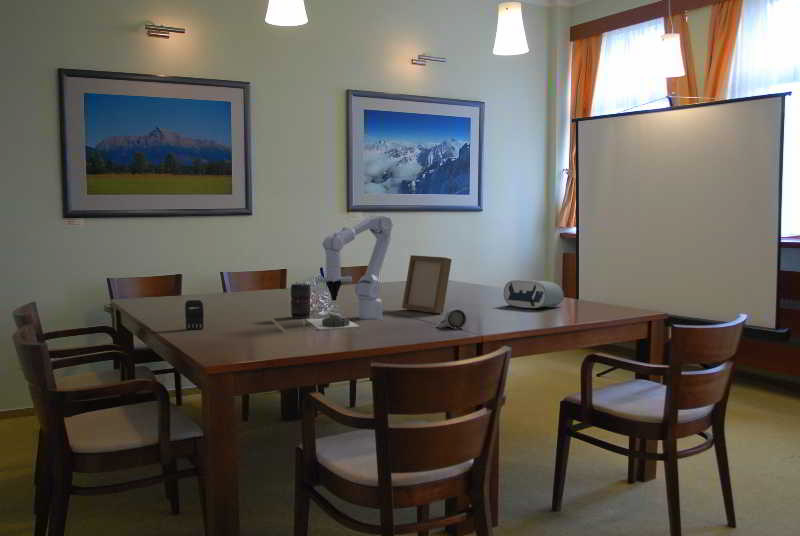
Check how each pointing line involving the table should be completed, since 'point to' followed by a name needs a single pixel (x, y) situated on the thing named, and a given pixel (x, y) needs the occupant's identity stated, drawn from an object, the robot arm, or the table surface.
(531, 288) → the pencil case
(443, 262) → the photo frame
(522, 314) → the table surface
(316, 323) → the board
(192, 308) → the black battery charger
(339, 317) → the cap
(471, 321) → the table surface
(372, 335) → the table surface
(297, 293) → the camera lens
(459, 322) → the ceramic mug
